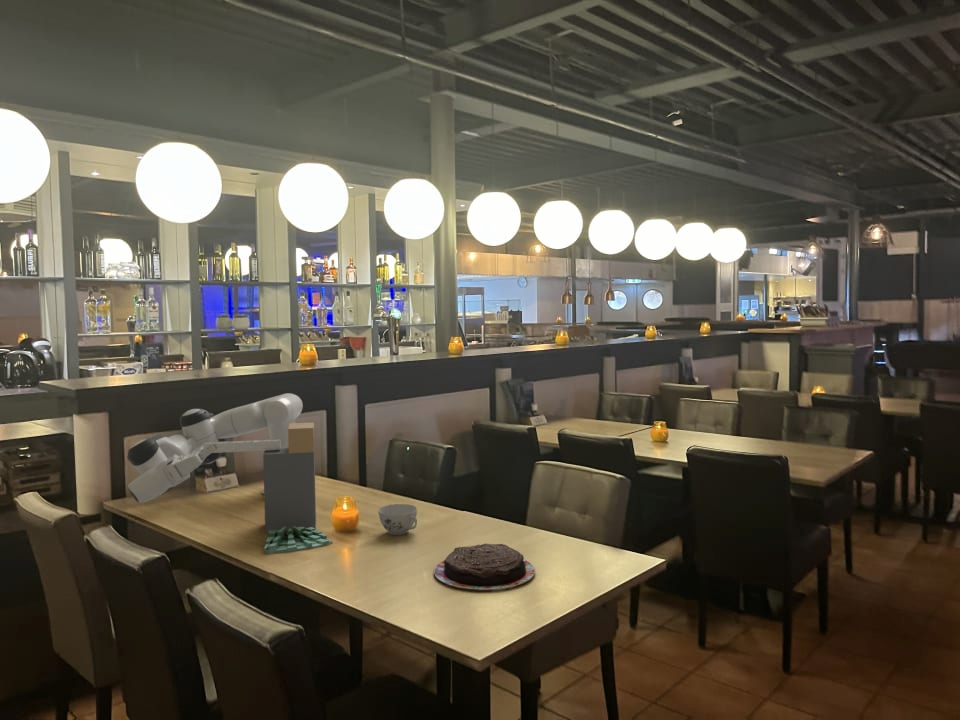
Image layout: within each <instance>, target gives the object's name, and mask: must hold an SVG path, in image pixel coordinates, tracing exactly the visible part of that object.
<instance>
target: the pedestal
mask: <svg viewBox="0 0 960 720" xmlns="http://www.w3.org/2000/svg"><path fill="white" fill-rule="evenodd" d="M288 444H289V447H281V448H280V450H267V451H263V454H262V455H263V456H262V457H263V458H262V459H263V464H262V465H263V490H264V494H263V495H264V496H263V498H264V499H263V500H264V502H263V503H264V529H265V533H264V534H268V532H269V531H271V530H281V529H282V528H283V527H286V532H287V533H288V530H289V528H291V530H292V533H293V526H294V527H296V528H297V527H305V528H310V527H313V528H316V529H317V525H316V524H317V508H316V507H317V505H316V503H317V502H316V466H315V465H316V464H315V463H316V462H315V461H316V460H315V459H316V458H315V456H316V455H315V453H316V452H315V422H295V423H290V424H289V428H288Z"/></svg>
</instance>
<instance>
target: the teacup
mask: <svg viewBox="0 0 960 720" xmlns="http://www.w3.org/2000/svg"><path fill="white" fill-rule="evenodd" d="M377 512H378V518H379V521H380V522H381V525H382V527H383V528H384V529H385V530H386V531H387V532H388V533H389V535H390V536H391V535H392V536H403V535H406V534H407V533H408V532H409V530H410V531H411V530H415V529H416V528H417V526H418V519H417V514H418V508H417V506H415V505H413V504H407V503H393V504H388V505H385V506H381V508H379V509H378V511H377Z"/></svg>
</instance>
